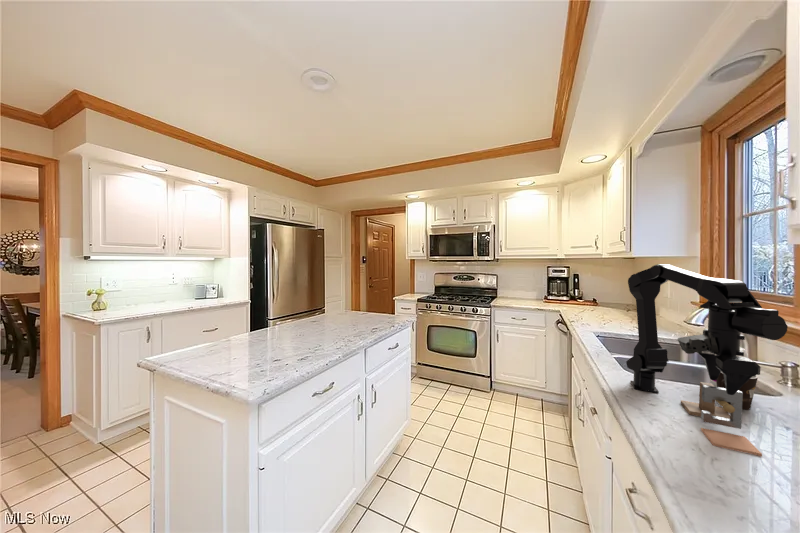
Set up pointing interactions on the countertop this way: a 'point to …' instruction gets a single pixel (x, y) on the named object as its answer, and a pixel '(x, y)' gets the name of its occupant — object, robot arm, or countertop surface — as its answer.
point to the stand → (708, 406)
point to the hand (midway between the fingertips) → (721, 386)
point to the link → (722, 395)
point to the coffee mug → (742, 390)
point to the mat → (731, 441)
